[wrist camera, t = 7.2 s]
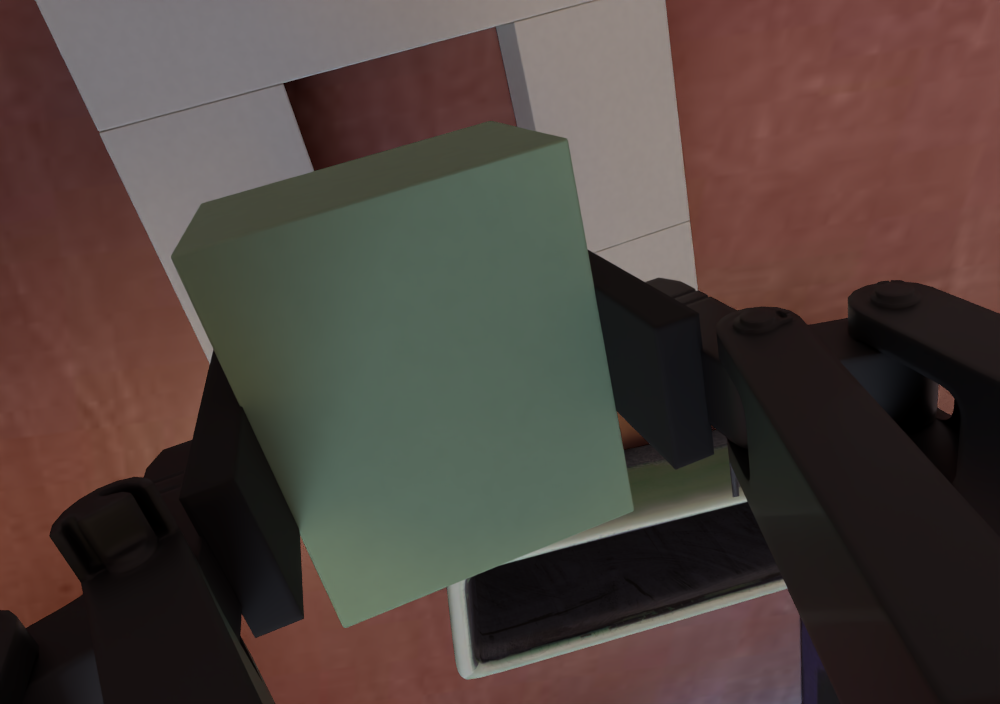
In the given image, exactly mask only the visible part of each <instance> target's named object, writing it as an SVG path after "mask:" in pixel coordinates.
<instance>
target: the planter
mask: <svg viewBox="0 0 1000 704" xmlns="http://www.w3.org/2000/svg"><path fill="white" fill-rule="evenodd" d="M712 437H713V446H714V455H712V456H709V457H707V458H704V459H702V460H699V461H697V462H694V463H692V464H689V465H687V466H684V467H682V468H679V469H677V470H675V469H674V468H673V467H672V466H671V465H670V464H669V463H668V462H667V461H666V460H665V459H664V458H663V457H662V456H661V455H660V454H659V453H658V452H657V451H656V450H655V449H654V448H653V447H652V446H651V445H645V446H641V447H636V448H631V449H627V450H624V455H625V460H626V466H627V472H628V477H629V483H630V488H631V494H632V499H633V505H634V511H632V512H630V513H627V514H625V515H622V516H620V517H618V518H615V519H613V520H610V521H608V522H605V523H603V524H600V525H598V526H595V527H593V528H591V529H588V530H586V531H583V532H581V533H578V534H576V535H573V536H571V537H568V538H566V539H563V540H561V541H559V542H556V543H554V544H551V545H549V546H546V547H544V548H541V549H539V550H536V551H534V552H531V553H529V554H527V555H524V556H522V557H519V558H517V559H514V560H512V561H509V562H507V563H504V564H502V565H499V566H497V567H495V568H492V569H490V570H487V571H485V572H482V573H480V574H477V575H475V576H472V577H470V578H467V579H465V580H463V581H460V582H458V583H455V584H453V585H450V586H448V587H447V594H448V603H449V612H450V621H451V630H452V638H453V646H454V654H455V661H456V666H457V669H458V672H459V673H460V675H461V676H462V677H463V678H465V679H474V678H480V677H484V676H488V675H491V674H495V673H499V672H503V671H506V670H510V669H513V668H517V667H520V666H524V665H527V664H531V663H534V662H538V661H541V660H545V659H548V658H552V657H555V656H559V655H562V654H566V653H569V652H572V651H576V650H579V649H583V648H586V647H590V646H593V645H596V644H600V643H603V642H607V641H610V640H614V639H617V638H621V637H624V636H627V635H631V634H634V633H638V632H641V631H645V630H648V629H651V628H655V627H658V626H662V625H665V624H668V623H672V622H675V621H679V620H682V619H686V618H689V617H692V616H696V615H699V614H703V613H706V612H709V611H713V610H716V609H720V608H723V607H726V606H730V605H733V604H737V603H740V602H743V601H747V600H750V599H754V598H757V597H760V596H764V595H767V594H771V593H774V592H777V591H781V590H784V589H788V588H787V586H786V584H785V582H784V580H783V577H782V575H781V573H780V571H779V569H778V567H777V564H776V562H775V560H774V558H773V556H772V554H771V551H770V549H769V547H768V545H767V543H766V541H765V538H764V536H763V534H762V532H761V530H760V527H759V525H758V523H757V521H756V519H755V517H754V514H753V512H752V510H751V508H750V506H749V504H748V501H747V499H746V497H745V495H744V493H743V490H742V488H741V486H740V487H739V496H738V497H733V495H732V486H731V476H730V466H729V455H728V445H727V438H726V437H725V436H724V435H723V434H722V433H720V432H719V431H718V430H714V431H712Z"/></svg>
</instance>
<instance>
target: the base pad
mask: <svg viewBox="0 0 1000 704" xmlns="http://www.w3.org/2000/svg"><path fill="white" fill-rule="evenodd" d="M35 1H36V3H37V5H38V7H39V9H40V11H41V13H42V15H43V17H44V19H45V22H46V24H47V26H48V28H49V30H50V32H51V34H52V36H53V38H54V40H55V42H56V44H57V47H58V49H59V51H60V53H61V55H62V57H63V59H64V61H65V63H66V65H67V67H68V69H69V71H70V74H71V76H72V78H73V80H74V82H75V84H76V86H77V88H78V90H79V92H80V94H81V96H82V99H83V101H84V103H85V105H86V107H87V109H88V111H89V113H90V115H91V117H92V119H93V121H94V124H95V126H96V128H97V130H98V131H100V133H99V134H100V136H101V138H102V140H103V142H104V145H105V147H106V149H107V151H108V153H109V155H110V157H111V159H112V161H113V163H114V165H115V167H116V170H117V172H118V174H119V176H120V178H121V180H122V182H123V184H124V186H125V188H126V190H127V192H128V194H129V197H130V199H131V201H132V203H133V205H134V207H135V209H136V211H137V213H138V215H139V217H140V219H141V222H142V224H143V226H144V228H145V230H146V232H147V234H148V236H149V238H150V240H151V242H152V244H153V246H154V249H155V251H156V253H157V255H158V257H159V259H160V261H161V263H162V265H163V267H164V269H165V271H166V274H167V276H168V278H169V280H170V282H171V284H172V286H173V288H174V290H175V292H176V294H177V296H178V299H179V301H180V303H181V305H182V307H183V309H184V311H185V313H186V315H187V317H188V319H189V321H190V323H191V326H192V328H193V330H194V332H195V334H196V336H197V338H198V340H199V342H200V344H201V346H202V348H203V351H204V353H205V355H206V357H207V359H208V361H209V363H210V362H211V357H212V353H213V347H212V345H211V343H210V341H209V339H208V337H207V334H206V332H205V330H204V328H203V326H202V324H201V322H200V319H199V317H198V315H197V313H196V311H195V309H194V307H193V304H192V302H191V300H190V298H189V296H188V294H187V292H186V289H185V287H184V285H183V283H182V281H181V279H180V277H179V274H178V272H177V270H176V268H175V266H174V264H173V262H172V259H171V255H172V253H173V251H174V250H175V248H176V246H177V244H178V243H179V241H180V239H181V237H182V236H183V234H184V232H185V231H186V229H187V227H188V225H189V224H190V222H191V220H192V218H193V217H194V215H195V213H196V212H197V210H198V208H199V206H200V205H201V204H202V203H205V202H208V201H212V200H215V199H219V198H222V197H226V196H229V195H233V194H236V193H240V192H243V191H247V190H250V189H254V188H257V187H261V186H264V185H268V184H271V183H275V182H278V181H282V180H285V179H289V178H292V177H296V176H299V175H303V174H306V173H310V172H313V171H314V169H313V166H312V163H311V161H310V158H309V155H308V152H307V149H306V146H305V144H304V141H303V138H302V135H301V132H300V129H299V126H298V124H297V121H296V118H295V115H294V112H293V109H292V107H291V104H290V101H289V98H288V95H287V92H286V90H285V87H284V84H283V83H285V82H289V81H293V80H297V79H300V78H304V77H308V76H312V75H316V74H319V73H323V72H327V71H331V70H334V69H338V68H342V67H346V66H349V65H353V64H357V63H361V62H364V61H368V60H372V59H376V58H379V57H383V56H387V55H391V54H394V53H398V52H402V51H406V50H409V49H413V48H417V47H421V46H424V45H428V44H432V43H436V42H439V41H443V40H447V39H451V38H454V37H458V36H462V35H466V34H469V33H473V32H477V31H481V30H484V29H488V28H492V27H496V30H497V35H498V39H499V44H500V49H501V53H502V58H503V63H504V67H505V72H506V77H507V81H508V86H509V91H510V95H511V100H512V104H513V109H514V114H515V118H516V123H517V127H520V128H524V129H528V130H533V131H537V132H541V133H546V134H550V135H554V136H559V137H563V138H567V140H568V143H569V149H570V154H571V160H572V166H573V171H574V177H575V182H576V188H577V193H578V199H579V204H580V210H581V216H582V221H583V227H584V232H585V238H586V243H587V249H588V250H590V251H591V252H593V253H595V254H597V255H598V256H600V257H602V258H604V259H605V260H607V261H609V262H611V263H612V264H614V265H616V266H618V267H619V268H621V269H623V270H625V271H626V272H628V273H630V274H632V275H633V276H635V277H637V278H639V279H640V280H642V281H644V282H647V281H650V280H653V279H656V278H658V277H659V278H665V279H671V280H677V281H681V282H683V283H685V284H687V285H689V286H691V287H693V288H695V290H696V291H698V287H697V279H696V270H695V261H694V252H693V243H692V234H691V225H690V221H689V220H690V217H689V208H688V199H687V190H686V181H685V172H684V163H683V154H682V145H681V137H680V128H679V119H678V110H677V101H676V92H675V83H674V74H673V65H672V57H671V48H670V39H669V30H668V21H667V12H666V3H665V0H35Z"/></svg>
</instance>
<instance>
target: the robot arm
mask: <svg viewBox="0 0 1000 704" xmlns="http://www.w3.org/2000/svg"><path fill="white" fill-rule="evenodd" d="M588 255H589V260H590V266H591V271H592V277H593V282H594V290H595V295H596V301H597V306H598V312H599V318H600V323H601V329H602V334H603V340H604V345H605V351H606V356H607V362H608V368H609V373H610V379H611V384H612V390H613V395H614V401H615V406H616V411H617V412H618V413H619V414H620V415H621V416H622V417H623V418H624V419H625V420H626V421H627V422H628V423H629V424H630V425H631V426H632V427H633V428H634V429H635V430H636V431H637V432H638V433H639V434H640V435H641V436H642V437H643V438H644V439H645V440H646V441H647V442H648V443H649V444H650V445H651V446H652V447H653V448H654V449H655V450H656V451H657V452H658V453H659V454H660V455H661V456H662V457H663V458H664V459H665V460H666V461H667V462H668V463H669V464H670V465H671V466H672V467H673V468H674V469H675V470H677V469H679V468H682V467H684V466H687V465H689V464H692V463H694V462H697V461H699V460H702V459H704V458H707V457H709V456H712V455H714V446H713V437H712V428H711V425H712V426H713V427H714V428H715V429H717V430H718V431H719V432H720V433H722V434H723V435H724V436H725V437H726V438H727V445H728V455H729V466H730V476H731V486H732V495H733V497H738V496H739V487H740V486H741V488H742V490H743V493H744V495H745V497H746V499H747V501H748V504H749V506H750V508H751V510H752V512H753V514H754V517H755V519H756V521H757V523H758V525H759V527H760V530H761V532H762V534H763V536H764V538H765V541H766V543H767V545H768V547H769V549H770V551H771V554H772V556H773V558H774V560H775V562H776V564H777V567H778V569H779V571H780V573H781V575H782V577H783V580H784V582H785V584H786V586H787V588H788V591H789V593H790V595H791V597H792V599H793V601H794V604H795V606H796V608H797V610H798V612H799V614H800V617H801V619H802V621H803V623H804V625H805V627H806V630H807V632H808V634H809V636H810V638H811V641H812V643H813V645H814V647H815V649H816V651H817V654H818V656H819V658H820V660H821V662H822V664H823V667H824V669H825V671H826V673H827V675H828V677H829V680H830V682H831V684H832V686H833V688H834V691H835V693H836V695H837V697H838V699H839V701H840V704H1000V314H999V313H996V312H994V311H991V310H989V309H986V308H984V307H981V306H979V305H976V304H974V303H971V302H969V301H966V300H964V299H961V298H958V297H956V296H953V295H951V294H948V293H946V292H943V291H941V290H938V289H936V288H933V287H930V286H926V285H923V284H919V283H911V282H904V281H902V280H891V282H889V281H881V282H878V283H877V284H872V285H868V286H864V287H862V288H860V289H858V290H855V291H854V292H853V293H852V294H851V295H850V296H849V297H848V318H845V319H839V320H834V321H828V322H823V323H817V324H811V325H807V324H806V323H805V322H804V321H803V320H802V319H801V318H800V316H798V315H796V314H795V313H793V312H792V311H789V310H786V309H781V308H778V307H754V308H746V309H742V310H739V311H737V310H735V309H733V308H731V307H729V306H727V305H726V304H724V303H722V302H720V301H718V300H716V299H714V298H712V297H708V296H707V295H706V294H704V293H702V292H700V291H699V290H698V291H696V290H695V288H693V287H691V286H689V285H687V284H685V283H683V282H681V281H677V280H671V279H665V278H659V277H658V278H656V279H653V280H650V281H647V282H644V281H642V280H640V279H639V278H637V277H635V276H633V275H632V274H630V273H628V272H626V271H625V270H623V269H621V268H619V267H618V266H616V265H614V264H612V263H611V262H609V261H607V260H605V259H604V258H602V257H600V256H598V255H597V254H595V253H593V252H591V251H590V250H588ZM939 384H940V385H941V386H943V387H944V388H945V389H947V390H948V391H949V392H950V393H951V394H952V396H953V397H954V398H955V401H954V411H953V414H952V415H950V414H947V413H945V412H944V411H942V410H940V409H939V408H937V401H938V386H939ZM49 536H50V538H51V539H52V541H53V542H54V544H55V545H56V547H57V548H58V549H59V551H60V552H61V554H62V555H63V557H64V558H65V560H66V561H67V563H68V564H69V566H70V567H71V569H72V570H73V572H74V573H75V575H76V576H77V577H78V579H79V580H80V582H81V585H82V590H83V595H81V596H80V597H79V598H77V599H75V600H74V601H72V602H71V603H69V604H67V605H66V606H64V607H62V608H61V609H59V610H57V611H55V612H54V613H52V614H50V615H48V616H46V617H45V618H43V619H41V620H39V621H38V622H36V623H34V624H32V625H30V626H29V627H27V628H25V627H24V625H23V624H22V623H21V621H20V620H19V619H18V617H17V616H16V615H14V614H13V613H12V612H10V611H9V610H0V704H275V702H274V700H273V698H272V696H271V694H270V692H269V690H268V688H267V686H266V684H265V682H264V680H263V678H262V676H261V674H260V672H259V670H258V668H257V666H256V664H255V662H254V660H253V658H252V656H251V654H250V652H249V650H248V648H247V647H246V645H245V643H244V641H243V640H242V638H241V636H240V630H241V615H243V617H244V618H245V620H246V622H247V624H248V626H249V627H250V629H251V631H252V633H253V635H254V636H255V638H257V637H259V636H262V635H264V634H267V633H269V632H272V631H274V630H277V629H279V628H282V627H284V626H287V625H289V624H292V623H294V622H297V621H299V620H302V619H304V610H303V590H302V569H301V549H300V530H299V528H298V526H297V523H296V521H295V519H294V517H293V515H292V513H291V510H290V508H289V506H288V504H287V502H286V500H285V498H284V495H283V493H282V491H281V489H280V487H279V485H278V483H277V480H276V478H275V476H274V474H273V472H272V470H271V467H270V465H269V463H268V461H267V459H266V457H265V455H264V452H263V450H262V448H261V446H260V444H259V442H258V440H257V437H256V435H255V433H254V431H253V429H252V427H251V424H250V422H249V420H248V418H247V416H246V414H245V412H244V409H243V407H241V406H240V405H239V403H238V401H237V399H236V397H235V394H234V392H233V390H232V388H231V386H230V384H229V382H228V379H227V377H226V375H225V373H224V371H223V369H222V367H221V364H220V362H219V360H218V358H217V356H216V354H215V352H214V349H213V353H212V357H211V362H210V366H209V370H208V375H207V379H206V383H205V387H204V392H203V396H202V400H201V405H200V409H199V413H198V418H197V422H196V426H195V431H194V435H193V439H192V440H190V441H188V442H185V443H182V444H179V445H176V446H173V447H170V448H167V449H164V450H163V451H162V452H161V453H160V454H159V455H158V456H157V457H156V458H155V460H154V461H153V462H152V463H151V464H150V465H149V466H148V468H147V469H146V472H145V475H144V478H142V477H132V478H128V479H123V480H119V481H116V482H113V483H111V484H108V485H106V486H103V487H101V488H98V489H96V490H95V491H93V492H91V493H90V494H88V495H86V496H84V497H83V498H81V499H79V500H78V501H77V502H75V503H74V504H73V505H72V506H70V507H69V508H68V509H67V510H65V511H64V512H63V513H62V514H61V515H60V516H59V518H58V519H57V520H56V521H55V522H54V524H53V525H52V528H51V532H50V535H49Z"/></svg>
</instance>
